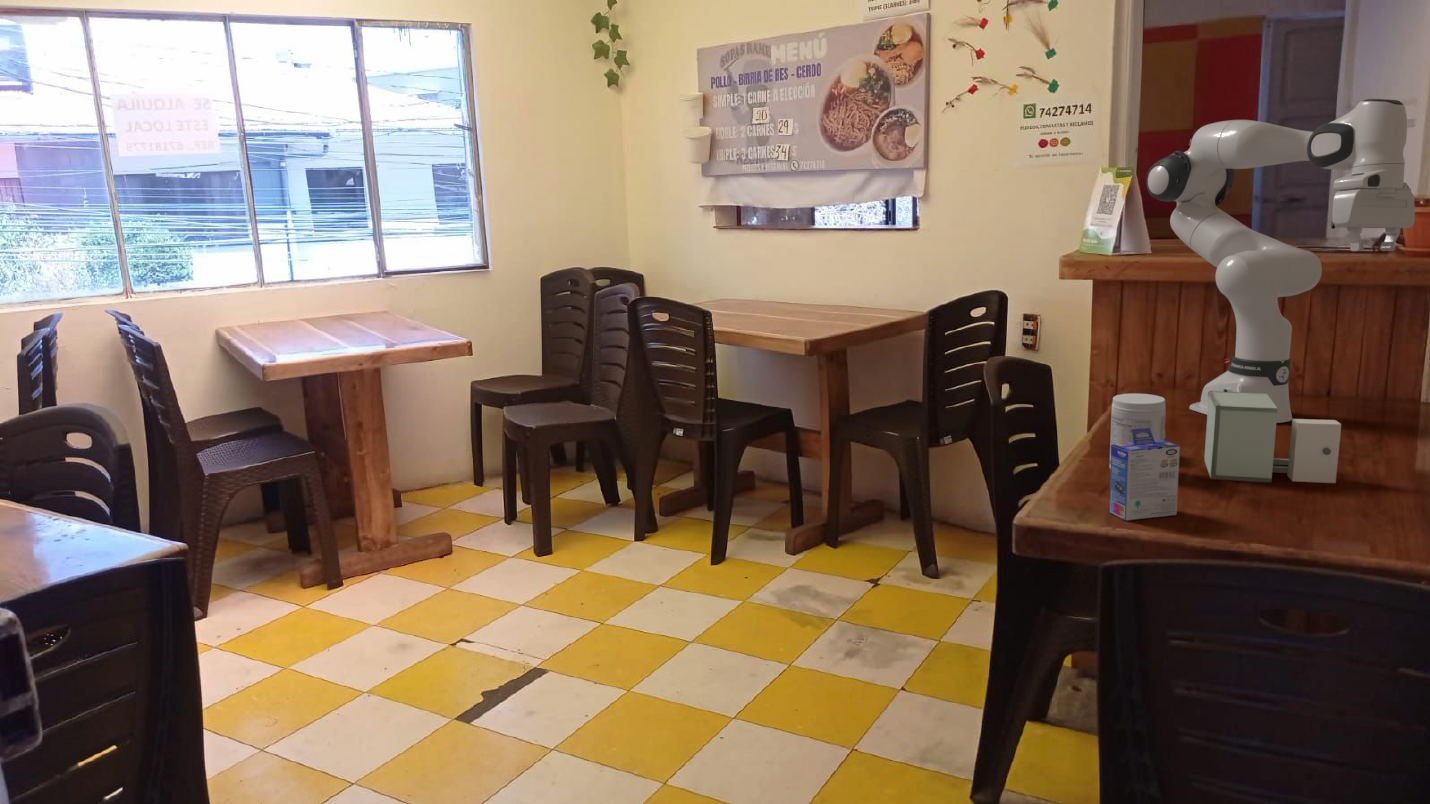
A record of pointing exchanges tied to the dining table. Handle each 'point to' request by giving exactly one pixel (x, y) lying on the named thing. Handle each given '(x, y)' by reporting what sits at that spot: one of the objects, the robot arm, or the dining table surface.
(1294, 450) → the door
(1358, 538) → the dining table surface
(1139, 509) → the ink cartridge box
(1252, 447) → the cabinet
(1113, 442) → the supplement tub
